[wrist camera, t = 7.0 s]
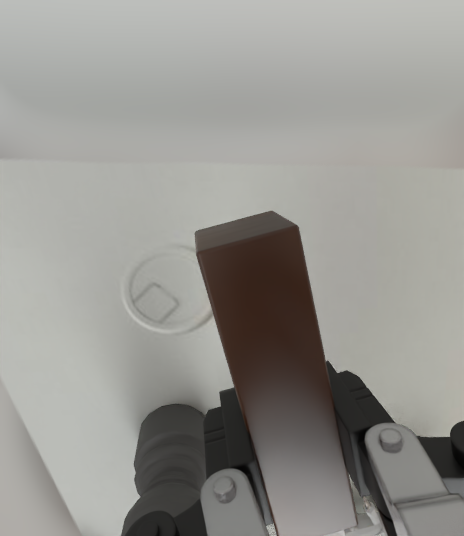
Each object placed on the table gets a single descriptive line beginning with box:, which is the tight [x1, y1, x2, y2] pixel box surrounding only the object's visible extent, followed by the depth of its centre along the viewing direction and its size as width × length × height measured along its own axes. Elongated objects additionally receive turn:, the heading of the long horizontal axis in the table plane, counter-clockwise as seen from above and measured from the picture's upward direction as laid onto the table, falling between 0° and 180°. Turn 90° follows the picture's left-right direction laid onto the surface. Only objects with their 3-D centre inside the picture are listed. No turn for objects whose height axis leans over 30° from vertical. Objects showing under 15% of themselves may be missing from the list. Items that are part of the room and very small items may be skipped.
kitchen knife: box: [195, 211, 358, 536], centre depth 14 cm, size 3×22×3 cm, turn 14°
